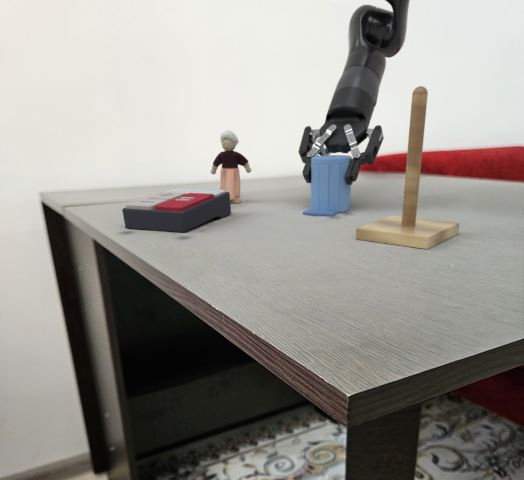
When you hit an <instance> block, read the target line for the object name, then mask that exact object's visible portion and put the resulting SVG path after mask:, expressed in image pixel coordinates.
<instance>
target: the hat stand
mask: <svg viewBox="0 0 524 480" xmlns="http://www.w3.org/2000/svg"><path fill="white" fill-rule="evenodd" d="M428 96H429V93H428V89H427V88H426V87H425V86H421V85H420V86H417V87H415V88H414V89H413V91H412V94H411V104H410V117H409V129H408V138H407V139H408V141H407V150H406V151H407V153H406V165H405V175H404V189H403V199H402V200H403V201H402V213H401V216H399V215H398V216H397V215H389V216H387V217H384V218H381V219H377V220H375V221H373V222H369V223H367V224H364V225H361V226H358V227H356V228H355V240H357V241H366V242H374V243H380V244H387V245H394V246H401V247H408V248H416V249H423V250H429V249H430V248H433V247H435V246H437V245H439V244H441V243H443V242H445V241H447V240H449V239H451V238H453V237H455V236H457V235H459V231H460V223H461V222H455V221H446V220H436V219H427V218H419V217H417V215H418V214H417V212H418V201H419V191H420V181H421V171H422V170H421V169H422V162H423V161H422V160H423V149H424V139H425V128H426V127H425V126H426V118H427V117H426V116H427V107H428V98H429V97H428Z"/></svg>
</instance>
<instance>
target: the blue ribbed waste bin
mask: <svg viewBox="0 0 524 480" xmlns="http://www.w3.org/2000/svg"><path fill="white" fill-rule="evenodd" d="M351 159H353V156H352V155H345V154H343V155H342V154H330V155H325V156H316V155H315V156H314V157H312V158H311V183H310V209H307V210H304V211H302V215H306V216H307V215H308V216H322V217H323V216H324V217H334V216H336V215H337V214H339V213H345V212H348V211H350V210H351V200H352V199H351V197H352V196H351V194H352V185H347V183H346V180H345V175H346V172H347V169H348V166H349V163H350V160H351Z"/></svg>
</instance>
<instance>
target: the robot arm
mask: <svg viewBox="0 0 524 480" xmlns="http://www.w3.org/2000/svg"><path fill="white" fill-rule="evenodd" d="M384 1H385V2H387V3H388V4H389V5H390V7H391V9H392V10H388V9H385V8H381V7H378V6H376V5H371V4H362V5H360V6H359V7H358V8H356V9H355V11H354V12H353V13H352V14H351V16H350V20H349V23H348V29H347V31H348V32H347V41H348V42H347V44H348V45H347V47H348V48H347V49H348V52H347V58H346V62H345V64H344V67H343V70H342V73H341V76H340V78H339V80H338V81H337V83H336V87H335V88H334V92H333V95H332V97H331V101H330V104H329V106H328V110H327V112H326V115H325V120H324V123H323V124H322V125H321V127H319V128H317V129H316V128H315V129H312V127H311V125H307V126H305V127H304V129H303V134H302V137H301V141H300V144H299V147H298V154H299V158H300V159H301V162H302V163H303V164H304V167H303V169H302V171H301V173H302V176H303V178H304V179H303V180H304V181H305V182H306V184H311V158H312V157H314V156H325V155H332V154H339V153H342V154H349V152H350V154H351V157H352V159H351V160H350V163H349V166H348V169H347V172H346V175H345V180H346V183H347V185H351V186H352V185H353V183H356V181H357V179H358V176H359V173H360V171H361V168H362V167H363V166H364V165H366V164H367V165H369V166H370V165H373V164H375V161H376V159H377V157H378V153H379V151H380V149H381V146H382V144H383V141H384V138H385V137H384V132H383V128H382V125H380V124H377V125H375V126H374V127H373V128H369V126H370V123H371V120H372V117H373V113H374V110H375V108H376V106H377V102H378V97H379V92H380V87H381V84H382V80H383V78H384V75H385V71H386V66H387V59H388V58H389V59H390V58H393V57H395V56H396V55H397V54H398V53H400V51H401V50H402V48H403V46H404V44H405V41H406V37H407V30H408V18H409V17H408V15H409V7H410V1H411V0H384ZM386 58H387V59H386ZM367 138H368V142H367V145H366V148H365V149H364V151H363V152H361V151H360V148H359V145H360V144H362V143H363V142H365V140H366V139H367Z"/></svg>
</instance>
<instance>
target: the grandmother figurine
mask: <svg viewBox="0 0 524 480" xmlns="http://www.w3.org/2000/svg"><path fill="white" fill-rule="evenodd" d="M219 139H220V143H221V147H222V149H223V151H220V152H219V153H218V154H217V155H216V157H215V159H214V160H213V162H212V166H211V169H210V174H211V175H216V173H217V170H218V169H219V167H220V166H221V168H220V175H219V177H220V178H219V179H220V181H219V184H220V186H219V187H220V188H219V190H226V192H229V193H230V204H241V202H242V201H241V199H240V198H241V174H240V173H241V172H240V168H239V166H241V167H243V168H244V169H245V172H246V173H247V174H249V173H251V172H252V168H251V167H250V166H251V165H250V164H249V159H247V158H246V156H244V155H243V154H241V152H238V151H235V149H236V146H237V145H238V144H239V143H240V141H239V138H238V137H237V135H236V133H234V132H233V131H231V130H229V129H228V130H224V131H222V132H221V134H220V138H219Z"/></svg>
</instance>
